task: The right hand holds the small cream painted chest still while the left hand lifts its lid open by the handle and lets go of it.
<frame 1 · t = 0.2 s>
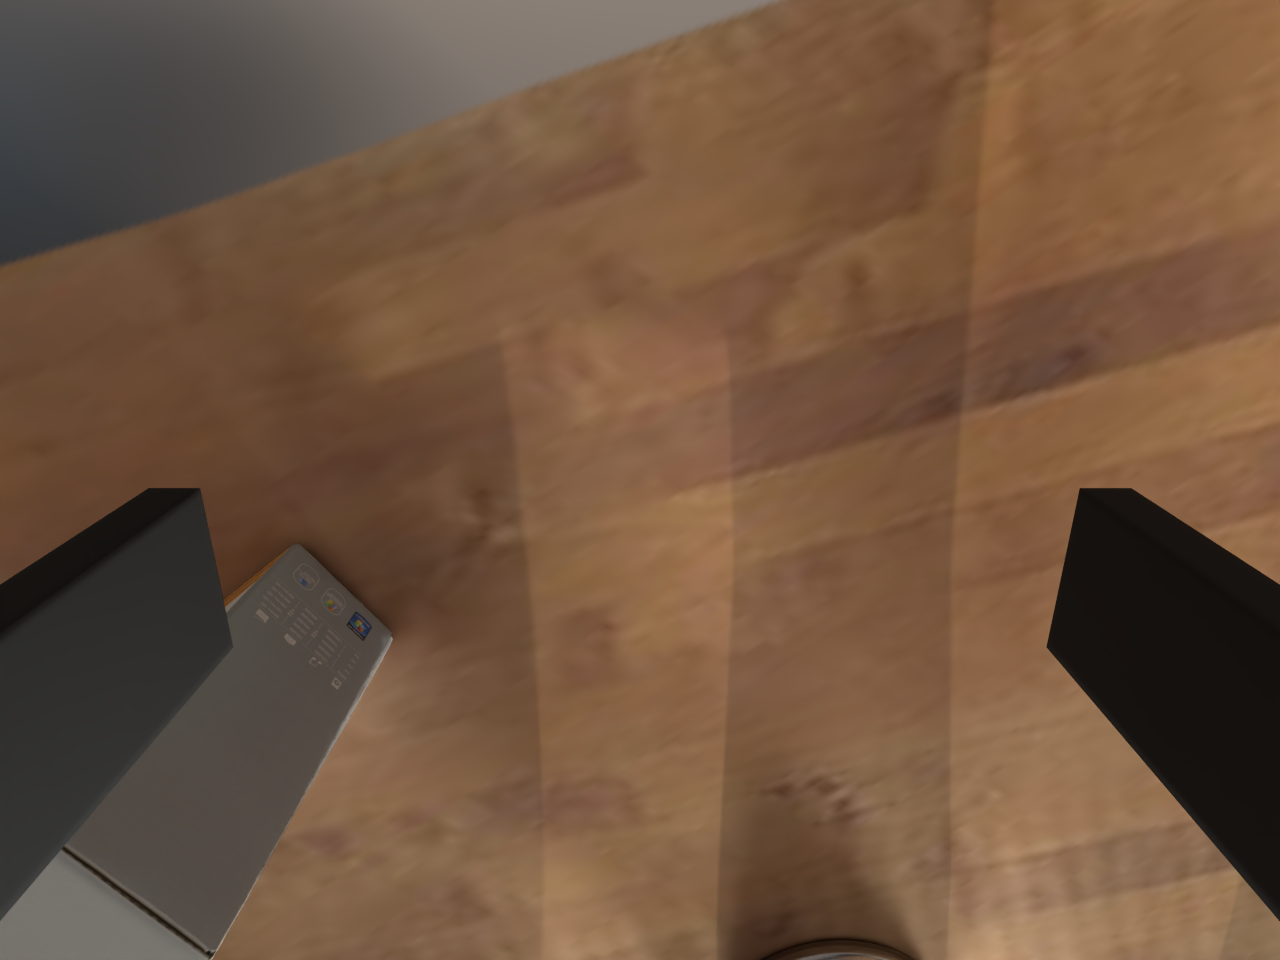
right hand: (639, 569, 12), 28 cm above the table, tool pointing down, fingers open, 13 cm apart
hard drive box: (253, 659, 46), on the table
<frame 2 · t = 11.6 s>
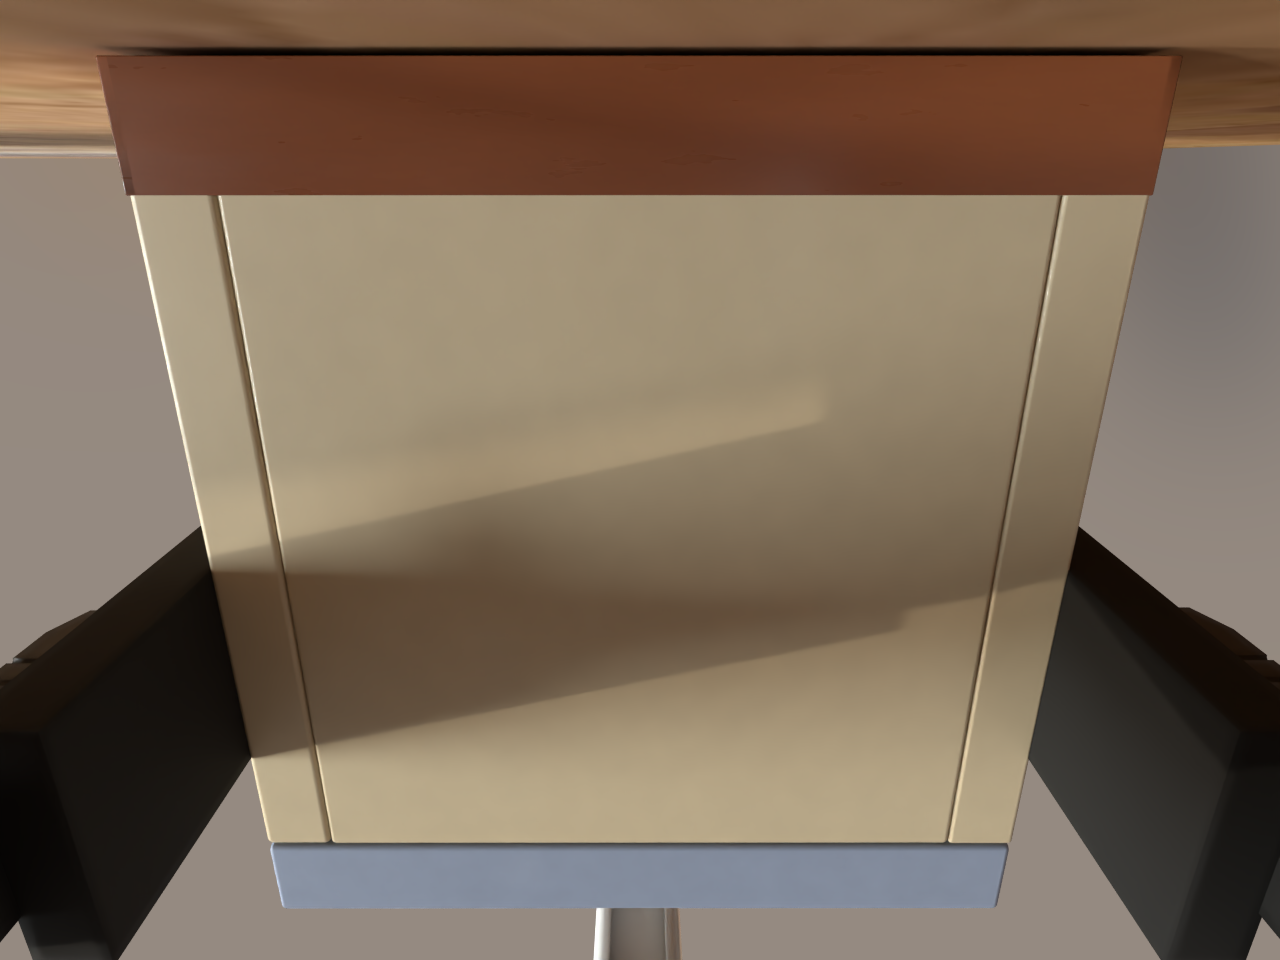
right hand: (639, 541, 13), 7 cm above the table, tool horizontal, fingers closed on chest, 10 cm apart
chest: (639, 111, 15), on the table, touching right hand
lid: (639, 719, 20), point 14 cm above the table, hinge at 0.0°
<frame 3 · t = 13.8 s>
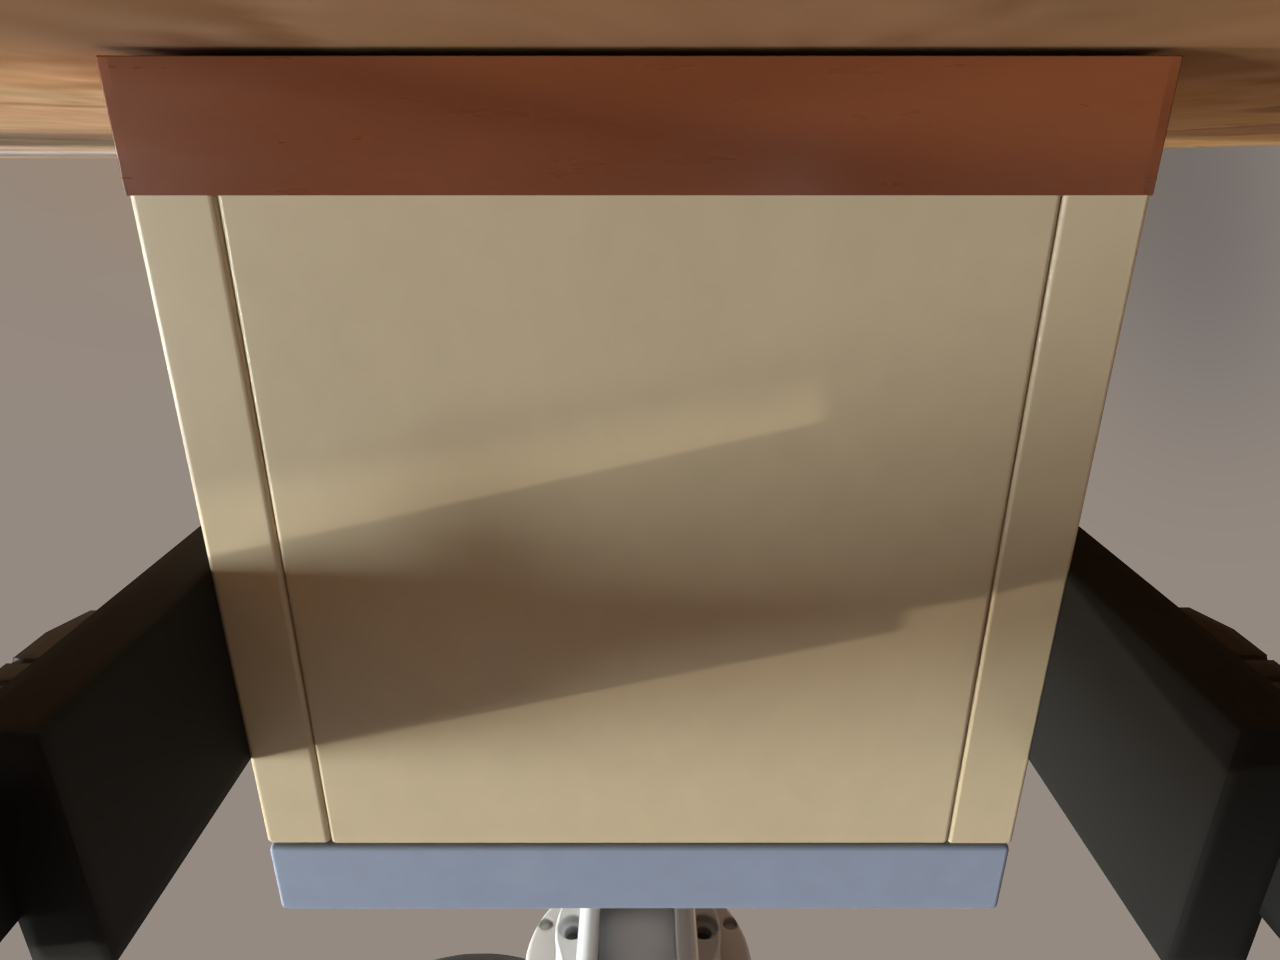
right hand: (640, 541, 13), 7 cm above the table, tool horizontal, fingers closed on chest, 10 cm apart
chest: (639, 111, 15), on the table, touching right hand
lid: (639, 719, 20), point 14 cm above the table, hinge at -0.1°, touching left hand
when the right hand's fingers open (7 cm above the table, at t = 21.5 s): chest stays where it is, on the table.
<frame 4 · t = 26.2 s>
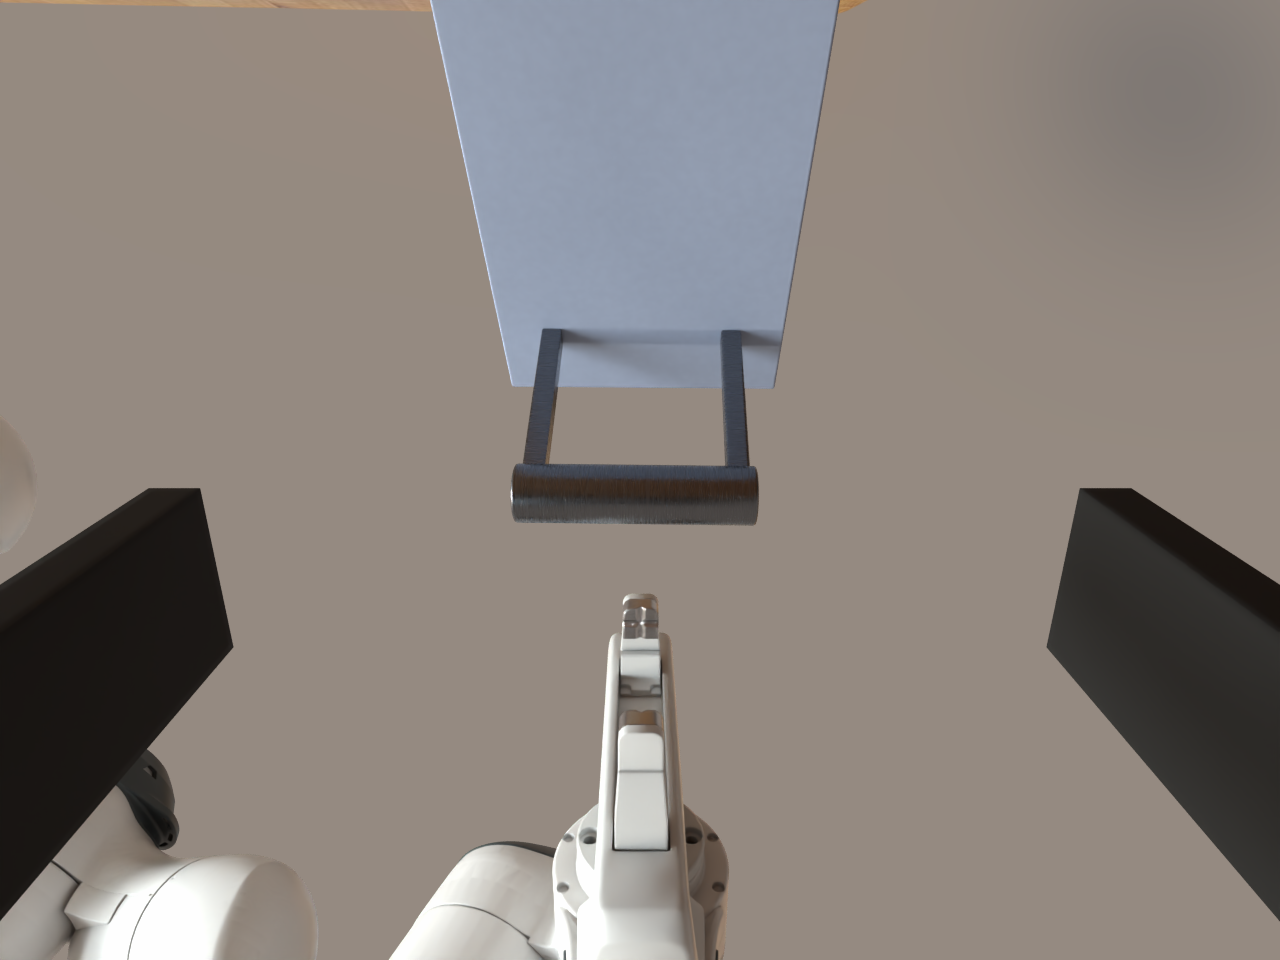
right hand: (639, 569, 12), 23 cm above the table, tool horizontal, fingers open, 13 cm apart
left hand: (640, 653, 36), fingers open, 8 cm apart
lid: (634, 265, 22), point 19 cm above the table, hinge at 57.3°
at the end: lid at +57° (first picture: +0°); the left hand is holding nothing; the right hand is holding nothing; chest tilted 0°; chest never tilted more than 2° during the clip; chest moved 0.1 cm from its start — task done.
